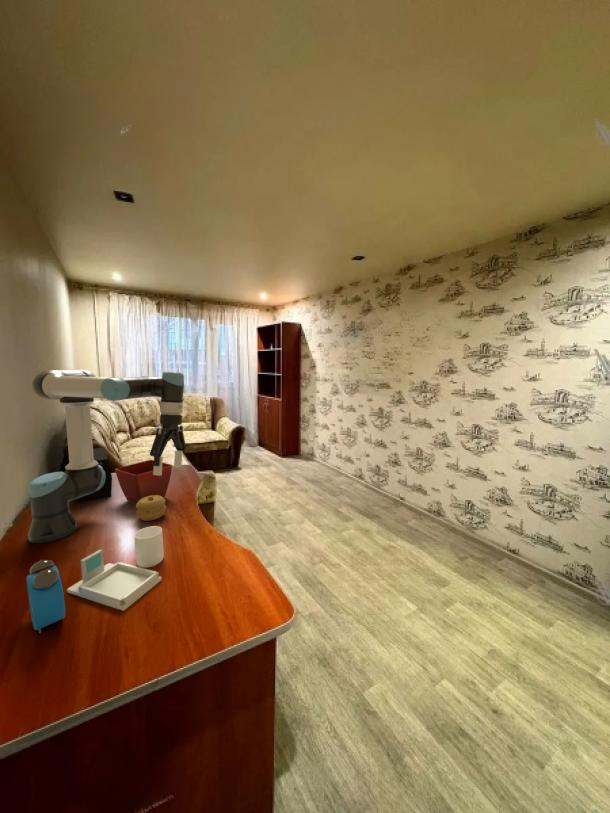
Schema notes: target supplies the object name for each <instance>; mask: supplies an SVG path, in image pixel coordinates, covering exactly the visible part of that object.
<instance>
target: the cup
mask: <svg viewBox="0 0 610 813" xmlns="http://www.w3.org/2000/svg"><path fill="white" fill-rule="evenodd" d="M163 538H164V537H163V528H162V527H161V526H158V525H152V526H146V527H143V528H141V529H139V530H137V531H136V532H135V533H134V545H135V557H136V558H135V559H136V564H137V567H141V568H144V569H147V568H151V567H155V566H157V565H158V564H160V563H161V562H162V561H163V559H164V556H165V553H164V541H163Z"/></svg>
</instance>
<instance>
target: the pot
mask: <svg viewBox="0 0 610 813" xmlns="http://www.w3.org/2000/svg"><path fill="white" fill-rule="evenodd" d="M166 501H167V500H166V499H165V497H164V498H163V497H162V496H159V495H151V496H147V497H144V498H142V499H141V500H139V501H138V503H137V504H135V508H136V509H137V510H136V512H135V513H136V516H137V517H138V518H139V519H140V520H142V521H146V522H151V521H154V520H157V519H159V518H161V517H162V516H163V515H164V514H165V512H166V509H167V506H166Z"/></svg>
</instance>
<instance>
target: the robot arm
mask: <svg viewBox="0 0 610 813" xmlns="http://www.w3.org/2000/svg"><path fill="white" fill-rule="evenodd" d="M161 375H162V376H149V375H146V376H145V375H143V376H134V377H133V376H132V377H129V376H128V377H124V376H123V377H119V376H117V377H114V376H109V377H108V376H96V375H95V374H94V373H93V372H92V371H89V370H87V369H85V370H84V369H49V370H44V371H41V372H39V373H38V374H36V375H35V377H33V380H32V382H31V386H32V390H33V392H34V393H35V394H36V395H37V396H39V397H40V398H42V399H46V400H59V403H60V404H61V405H62V406H64V412H65V425H66V436H67V437H66V438H67V447H68V449H67V450H68V461H69V463H68V464H66V466H65V467H64V468H65V471H64V472H63V471H54V472H50V473H45V474H43V475H40V476H37V477H36V478H34V479H32V480H31V481H30V483H29V485H28V496H29V501H30V511H31V518H32V520H31V523H30V526H29V530H28V534H27V537H28V538H27V539H28V541H29V543H31V544H45V543H50V542H54V541H58V540H60V539H61V540H62V539H63V538H65V537H68V536H70V535H71V534H73V533H74V532H75V531H76V530H78V524H77V523H78V522H77V520H76V518H75V516H74V515H73V514H72V511H71V508H70V507H71V506H70V502H72V501H76V500H77V499H78V498H80V497H83V496H86V495H88V494H92V493H94V492H95V491H97V490H99V489H100V488H101V487H102V486H103V485H104V483H105V479H106V475H105V471H104V470H103V468H102V467H101V466H100V465H98V462H97V461H95V460H94V457H93V449H94V444H93V442H94V441H93V433H92V428H93V427H92V417H91V416H92V415H91V405H92V404H93V403H94V402H95V399H106V400H107V401H118V402H119V401H124V400H130V399H140V398H151V397H152V398H154V397H155V398H160V406H159V407H160V408H159V409H160V410H159V411H160V413H161V414H160V415H159V424H160V425H162V427H157V428H156V433H155V435H154V436H155V437H154V440H153V441H152V445H151V449H150V452H149V456H150V457H153V460H154V470H153V475H159V476H161V475H162V463H163V458H164V457H163V456H162V455H163V453H164V450H165V449H166V447H167V445H168V442H170V441H171V440H172V444H173V445H174V447H175V450H174V460H173V462H174V463H173V468H178V469H182V466H183V465H182V464H183V451H184V452H185V451H186V449H187V447H186V446H187V445H186V441H185V440H186V439H185V435H184V427H183V426H182V425H183V424H182V422H183V416H182V414H183V408H184V405H183V403H184V401H183V400H184V398H183V397H184V391H185V390H184V389H185V376H184V374H183V373H182V372H177V371H163V372H162V374H161Z"/></svg>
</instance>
